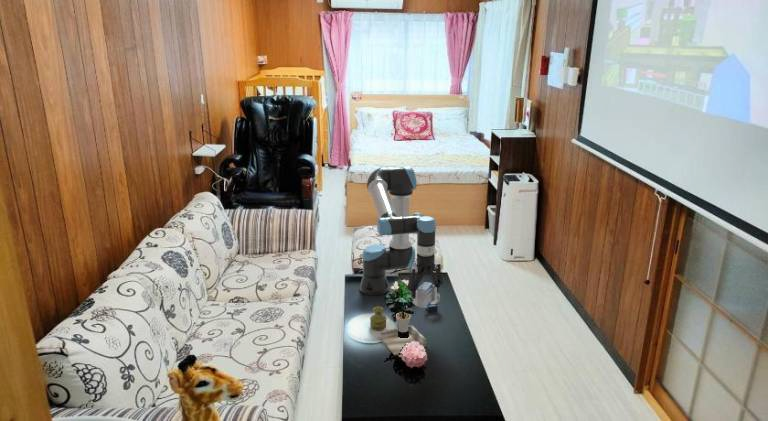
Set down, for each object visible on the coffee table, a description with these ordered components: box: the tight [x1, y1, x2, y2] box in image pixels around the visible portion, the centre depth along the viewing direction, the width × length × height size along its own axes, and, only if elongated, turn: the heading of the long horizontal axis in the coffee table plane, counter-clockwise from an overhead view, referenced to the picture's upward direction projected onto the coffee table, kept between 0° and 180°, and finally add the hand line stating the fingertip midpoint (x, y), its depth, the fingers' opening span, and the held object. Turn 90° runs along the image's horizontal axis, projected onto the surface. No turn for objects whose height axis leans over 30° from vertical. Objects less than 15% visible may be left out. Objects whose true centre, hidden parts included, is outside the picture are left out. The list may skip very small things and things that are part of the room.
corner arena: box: [379, 324, 428, 356], centre depth 223 cm, size 14×15×4 cm
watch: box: [426, 292, 441, 314], centre depth 251 cm, size 6×8×11 cm
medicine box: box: [416, 281, 434, 309], centre depth 225 cm, size 8×4×9 cm, turn 155°
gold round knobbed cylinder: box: [369, 305, 387, 332], centre depth 235 cm, size 7×7×10 cm
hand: (424, 302), depth 226 cm, fingers closed on medicine box, 9 cm apart
